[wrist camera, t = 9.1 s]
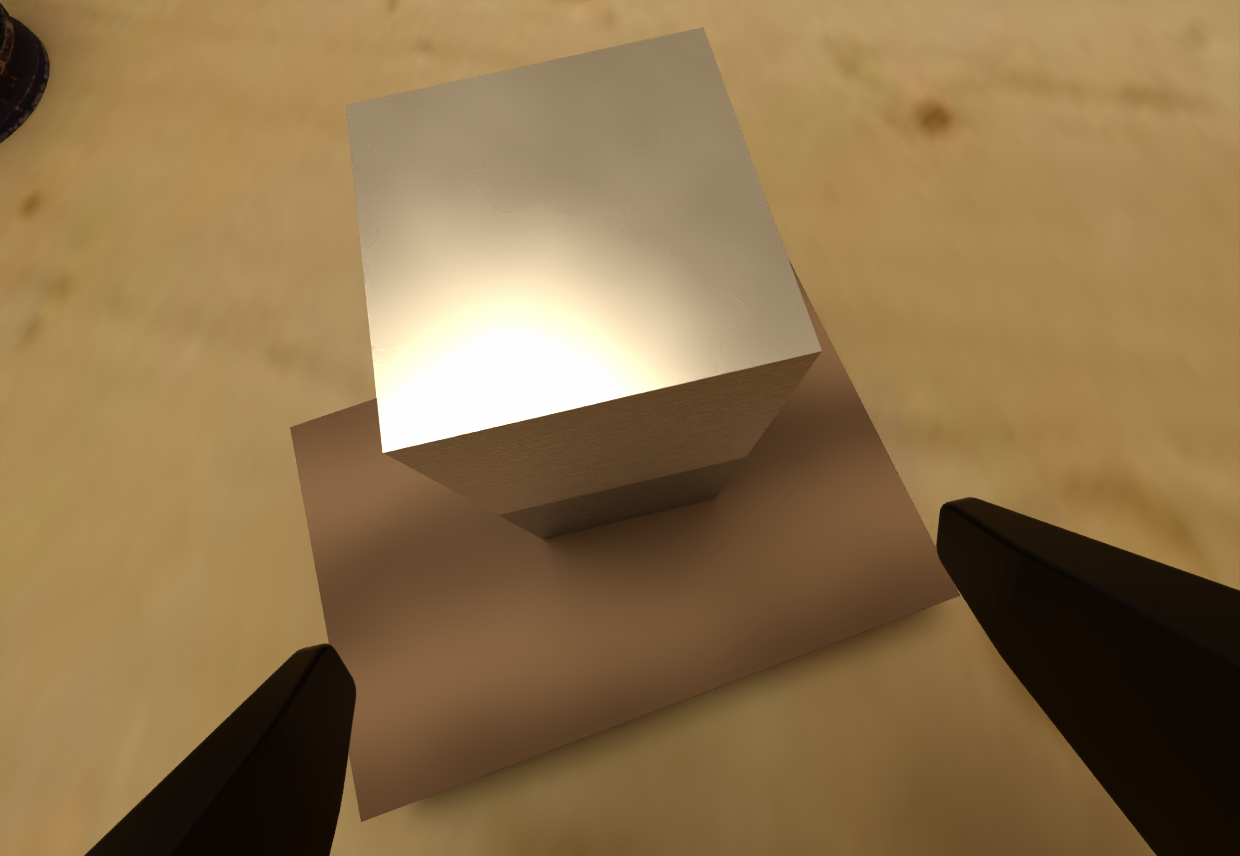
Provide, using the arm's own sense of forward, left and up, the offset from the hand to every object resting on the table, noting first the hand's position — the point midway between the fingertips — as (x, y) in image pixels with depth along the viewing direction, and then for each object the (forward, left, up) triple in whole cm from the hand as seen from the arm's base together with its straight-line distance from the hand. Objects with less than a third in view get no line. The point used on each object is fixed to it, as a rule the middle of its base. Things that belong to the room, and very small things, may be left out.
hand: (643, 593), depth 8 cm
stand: (+3, 0, -12) cm, 12 cm away
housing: (+5, -1, -9) cm, 10 cm away
